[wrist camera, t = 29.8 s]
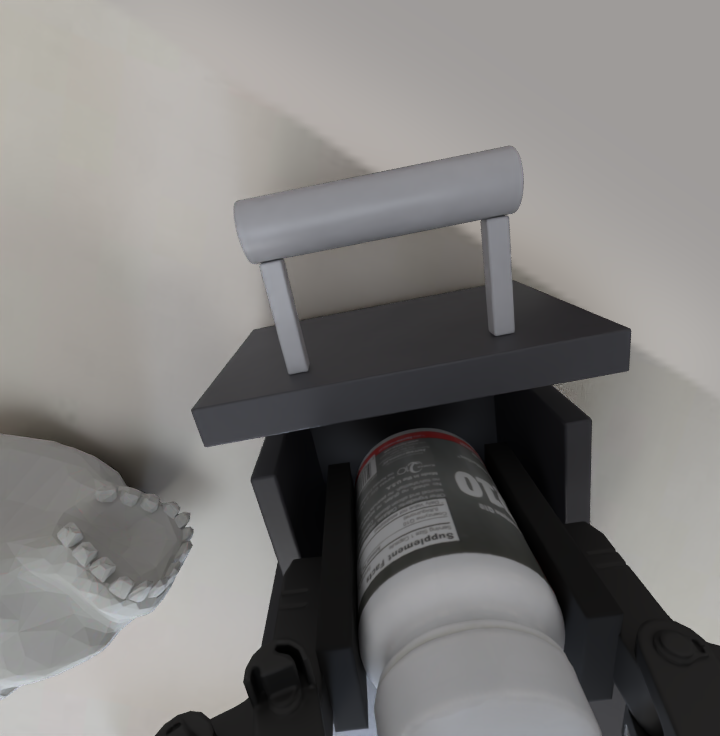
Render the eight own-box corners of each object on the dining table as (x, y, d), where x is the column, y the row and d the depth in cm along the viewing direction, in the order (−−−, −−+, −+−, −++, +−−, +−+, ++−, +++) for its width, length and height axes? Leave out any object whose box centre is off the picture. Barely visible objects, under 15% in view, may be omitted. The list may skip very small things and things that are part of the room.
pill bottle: (504, 494, 15) (669, 788, 8) (396, 550, 16) (444, 867, 8) (444, 399, 14) (571, 640, 6) (328, 465, 15) (309, 755, 7)
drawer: (220, 215, 17) (118, 219, 9) (507, 158, 16) (644, 113, 9) (319, 559, 23) (307, 723, 16) (526, 525, 23) (612, 676, 15)
